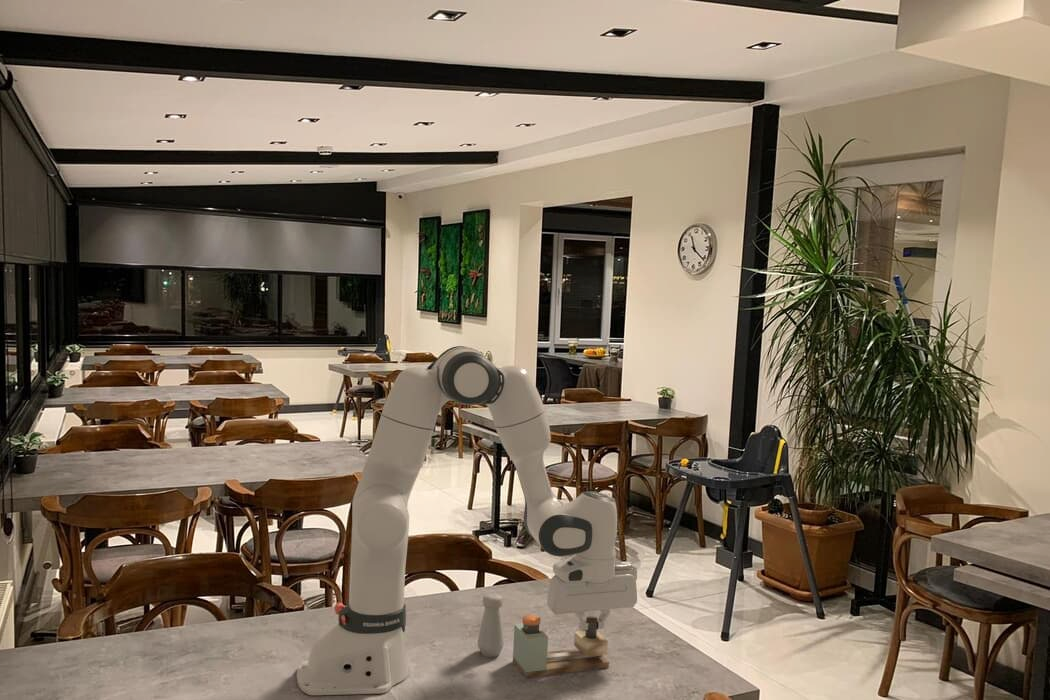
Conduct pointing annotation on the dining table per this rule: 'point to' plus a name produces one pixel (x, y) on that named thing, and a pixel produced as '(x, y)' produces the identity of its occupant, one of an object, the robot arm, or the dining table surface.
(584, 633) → the carriage
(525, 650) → the end cabinet
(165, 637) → the dining table surface
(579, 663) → the rail bed
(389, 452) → the robot arm
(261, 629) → the dining table surface
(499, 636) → the salt shaker
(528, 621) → the button
